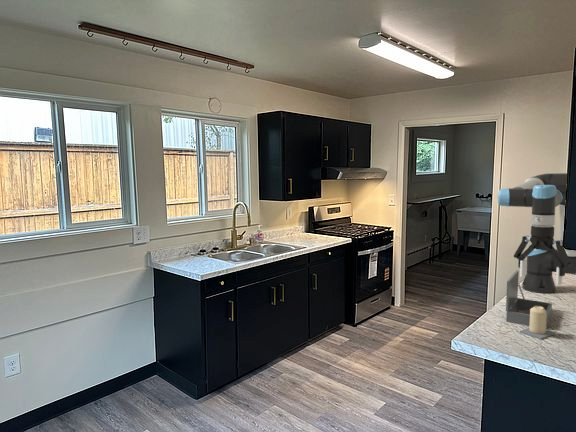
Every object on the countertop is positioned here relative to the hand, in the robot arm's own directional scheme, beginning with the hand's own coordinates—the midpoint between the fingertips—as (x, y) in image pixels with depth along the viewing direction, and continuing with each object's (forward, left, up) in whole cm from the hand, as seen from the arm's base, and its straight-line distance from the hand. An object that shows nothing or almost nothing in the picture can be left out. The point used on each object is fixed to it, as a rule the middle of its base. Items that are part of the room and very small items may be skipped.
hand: (540, 280), depth 155 cm
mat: (0, 0, -21) cm, 21 cm away
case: (-14, -11, -21) cm, 28 cm away
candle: (0, 0, -21) cm, 21 cm away
